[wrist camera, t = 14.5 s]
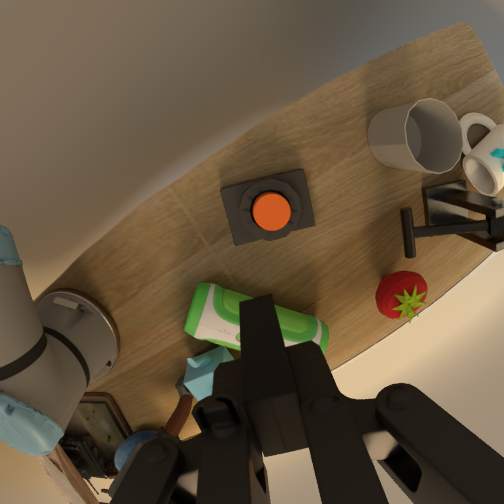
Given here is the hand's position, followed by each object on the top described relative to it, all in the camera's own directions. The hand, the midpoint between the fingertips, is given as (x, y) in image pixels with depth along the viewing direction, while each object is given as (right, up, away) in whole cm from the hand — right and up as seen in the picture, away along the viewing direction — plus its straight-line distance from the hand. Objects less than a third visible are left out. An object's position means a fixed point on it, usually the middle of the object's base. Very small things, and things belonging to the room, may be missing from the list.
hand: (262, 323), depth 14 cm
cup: (+19, +18, +23) cm, 35 cm away
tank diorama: (-35, -36, +36) cm, 62 cm away
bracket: (+28, +10, +26) cm, 39 cm away
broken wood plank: (-39, -35, +29) cm, 60 cm away
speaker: (0, -5, +29) cm, 30 cm away
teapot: (-6, -13, +31) cm, 34 cm away
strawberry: (+19, -1, +29) cm, 34 cm away
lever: (+24, +6, +18) cm, 31 cm away
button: (+2, +8, +21) cm, 23 cm away
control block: (+1, +9, +25) cm, 27 cm away
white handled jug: (+35, +20, +23) cm, 47 cm away
